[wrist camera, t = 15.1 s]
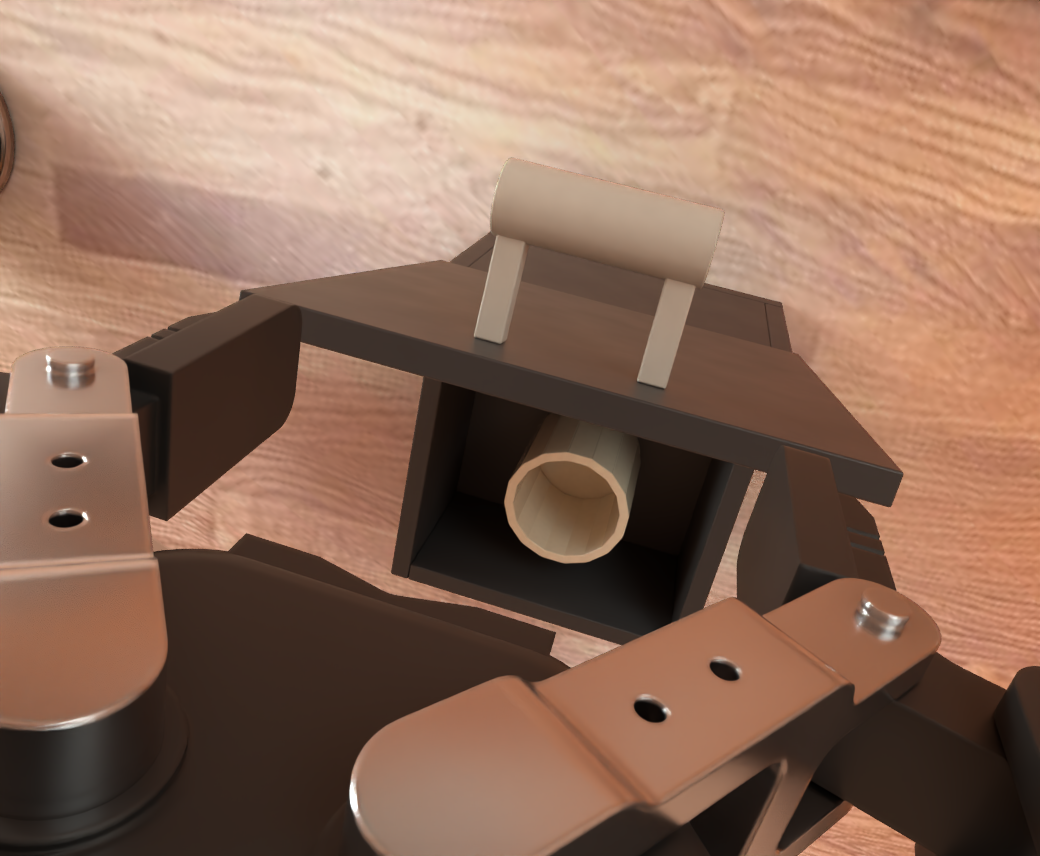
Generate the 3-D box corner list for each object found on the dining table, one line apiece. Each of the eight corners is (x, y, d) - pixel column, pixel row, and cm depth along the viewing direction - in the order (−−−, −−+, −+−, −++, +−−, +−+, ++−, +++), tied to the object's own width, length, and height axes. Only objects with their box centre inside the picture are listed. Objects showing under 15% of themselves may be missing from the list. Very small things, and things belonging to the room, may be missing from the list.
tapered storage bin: (690, 565, 49) (682, 665, 41) (444, 492, 50) (390, 574, 42) (782, 302, 42) (794, 360, 34) (493, 228, 44) (441, 266, 36)
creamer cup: (523, 484, 48) (494, 543, 42) (545, 389, 45) (518, 437, 40) (625, 513, 47) (610, 578, 41) (653, 419, 45) (642, 473, 39)
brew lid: (891, 508, 18) (982, 270, 16) (234, 324, 19) (268, 95, 18) (792, 373, 34) (834, 247, 32) (435, 278, 35) (461, 155, 34)
